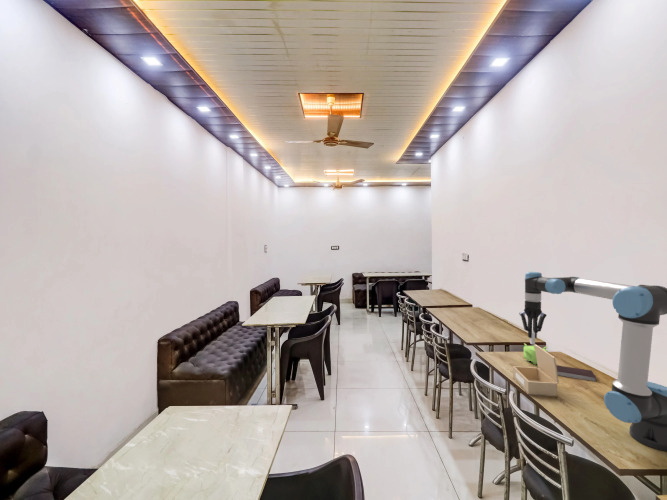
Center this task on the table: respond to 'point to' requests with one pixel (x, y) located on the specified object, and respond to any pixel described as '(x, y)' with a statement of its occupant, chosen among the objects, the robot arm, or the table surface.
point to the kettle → (531, 353)
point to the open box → (535, 381)
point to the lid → (546, 363)
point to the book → (575, 373)
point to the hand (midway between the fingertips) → (532, 343)
